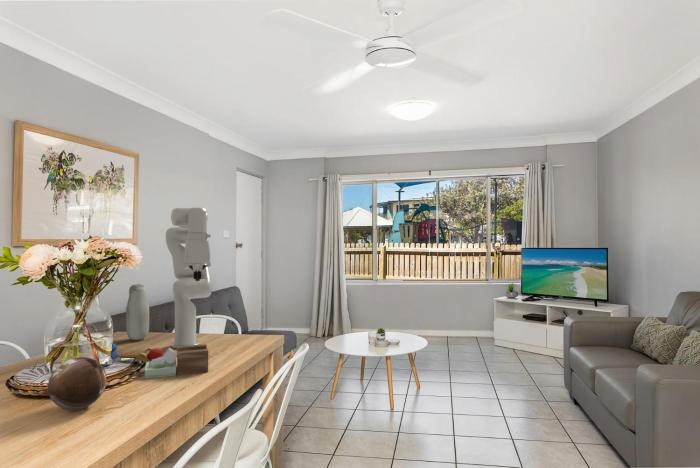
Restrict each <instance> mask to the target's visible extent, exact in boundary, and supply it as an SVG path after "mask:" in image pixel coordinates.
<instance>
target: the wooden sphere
mask: <svg viewBox="0 0 700 468" xmlns="http://www.w3.org/2000/svg"><path fill="white" fill-rule="evenodd" d="M107 382H108V381H107V373H106V370H105V368H104V366H103V365H101V364H100V363H99V361H98V360H94V359H93V358H90V357H84V356H81V357H79V356H78V357H74V358H70V359H68V360H65V361H64V362H63V363H61V364H59V365H58V367H56V368H55V370H53V371H52V373H51V375H50V377H49V380H48V383H47V392H48V396H49V398H50V399H51V401H52V402H53V404H55V405H56V406H58V407H59V408H61V409H64V410H67V411H74V410H75V411H76V410H81V409H84V408H87V407H88V406H91V405H92V404H93V403H95V402H96V401H97V400H98V399H100V397H101V396H102V395H103V392H104V390H105V388H106V385H107Z"/></svg>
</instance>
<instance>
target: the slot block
mask: <svg viewBox="0 0 700 468" xmlns="http://www.w3.org/2000/svg"><path fill="white" fill-rule="evenodd" d="M207 347H208V345H207V343H200V344H198V345H187V346H177V348H176V352H177V358H176V376H182V375H190V374H191V375H192V374H200V373H209V349H208V348H207Z"/></svg>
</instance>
